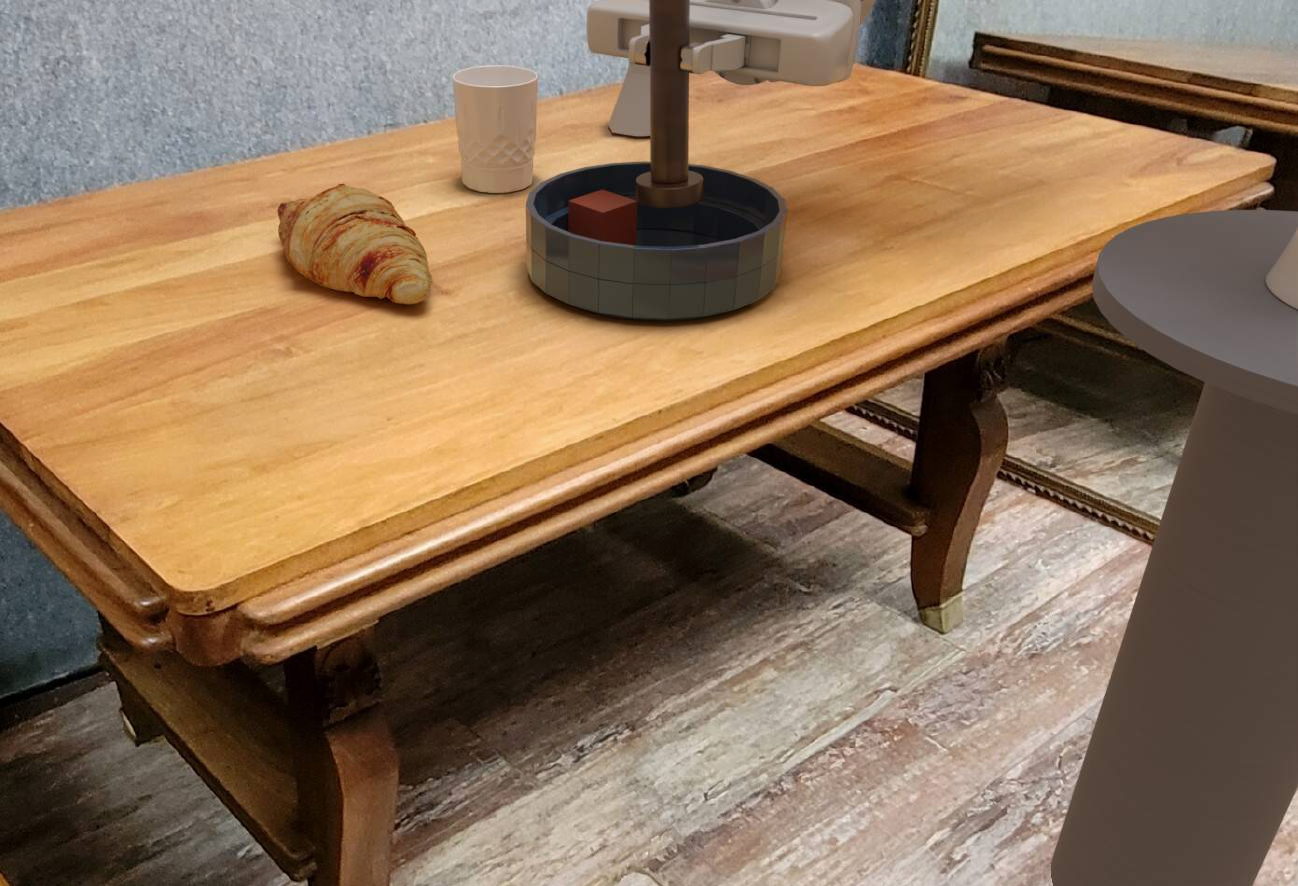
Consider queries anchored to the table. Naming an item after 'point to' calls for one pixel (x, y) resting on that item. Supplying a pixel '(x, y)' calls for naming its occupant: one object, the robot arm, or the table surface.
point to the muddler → (669, 112)
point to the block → (604, 217)
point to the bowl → (659, 246)
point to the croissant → (355, 245)
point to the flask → (633, 103)
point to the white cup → (496, 126)
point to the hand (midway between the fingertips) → (663, 57)
